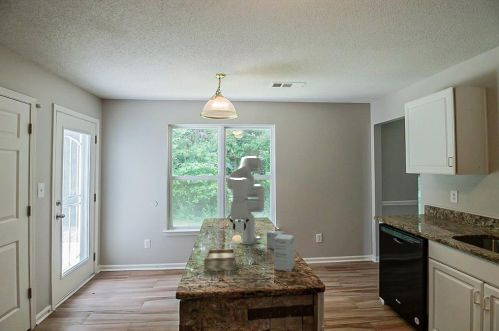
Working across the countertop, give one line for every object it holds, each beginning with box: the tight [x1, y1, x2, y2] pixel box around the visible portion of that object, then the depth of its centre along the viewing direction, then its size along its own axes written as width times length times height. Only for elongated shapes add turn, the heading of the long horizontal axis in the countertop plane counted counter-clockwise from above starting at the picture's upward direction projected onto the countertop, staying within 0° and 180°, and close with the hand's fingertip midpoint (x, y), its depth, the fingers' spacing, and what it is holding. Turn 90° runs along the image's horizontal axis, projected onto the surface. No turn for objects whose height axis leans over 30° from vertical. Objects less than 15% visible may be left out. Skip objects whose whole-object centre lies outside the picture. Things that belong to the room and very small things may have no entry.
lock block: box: [234, 219, 244, 233], centre depth 163 cm, size 5×7×7 cm
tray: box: [204, 248, 236, 272], centre depth 154 cm, size 16×16×6 cm
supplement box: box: [273, 234, 296, 272], centre depth 150 cm, size 10×9×17 cm
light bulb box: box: [266, 230, 285, 250], centre depth 186 cm, size 11×7×11 cm, turn 65°
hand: (239, 229), depth 163 cm, fingers closed on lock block, 5 cm apart
